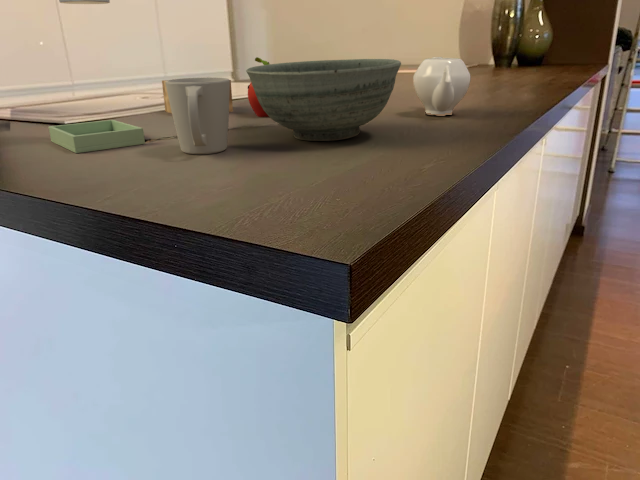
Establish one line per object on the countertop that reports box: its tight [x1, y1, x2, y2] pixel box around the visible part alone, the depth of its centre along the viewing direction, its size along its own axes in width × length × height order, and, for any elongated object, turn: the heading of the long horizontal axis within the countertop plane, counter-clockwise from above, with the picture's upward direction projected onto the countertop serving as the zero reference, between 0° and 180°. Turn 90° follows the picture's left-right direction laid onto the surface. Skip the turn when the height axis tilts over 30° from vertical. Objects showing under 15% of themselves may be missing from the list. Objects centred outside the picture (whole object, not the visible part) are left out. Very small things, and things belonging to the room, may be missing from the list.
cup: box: [165, 76, 231, 155], centre depth 65 cm, size 8×10×8 cm
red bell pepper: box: [247, 56, 270, 118], centre depth 91 cm, size 8×7×10 cm
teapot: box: [412, 56, 472, 114], centre depth 92 cm, size 10×20×9 cm, turn 174°
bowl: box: [245, 58, 402, 142], centre depth 74 cm, size 21×21×10 cm
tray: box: [48, 119, 146, 154], centre depth 73 cm, size 11×9×2 cm
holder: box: [161, 79, 234, 114], centre depth 97 cm, size 9×9×6 cm
